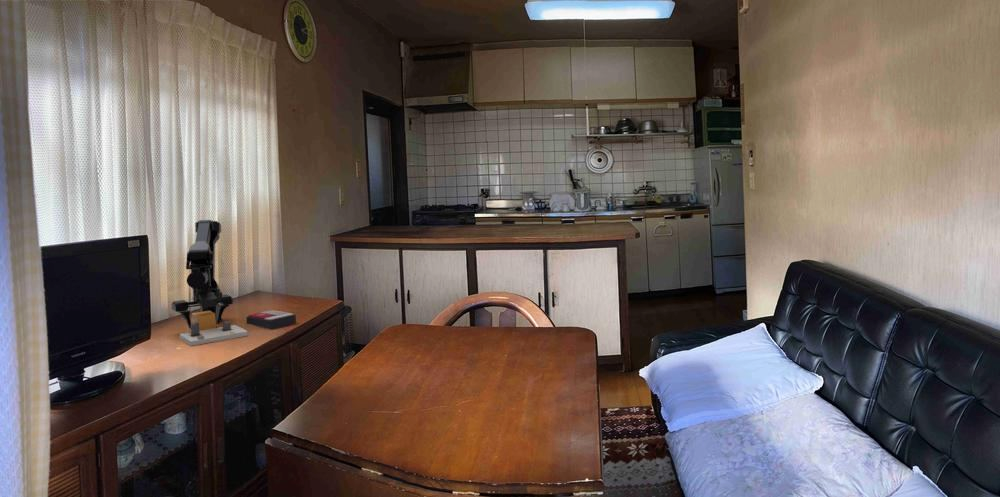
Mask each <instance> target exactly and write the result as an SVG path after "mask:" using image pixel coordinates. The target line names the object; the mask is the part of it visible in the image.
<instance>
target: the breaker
mask: <svg viewBox="0 0 1000 497" xmlns="http://www.w3.org/2000/svg"><path fill="white" fill-rule="evenodd" d="M190 325H191V329H190V332H191V336H198V335H200V328H199V323H192V322H191V324H190Z"/></svg>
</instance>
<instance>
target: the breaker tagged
mask: <svg viewBox="0 0 1000 497" xmlns="http://www.w3.org/2000/svg"><path fill="white" fill-rule="evenodd" d="M221 324H222V326H221V327H222V328H223V331H229V330H231V325H232V324H231V321H227V320H226V321H222V323H221Z"/></svg>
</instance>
